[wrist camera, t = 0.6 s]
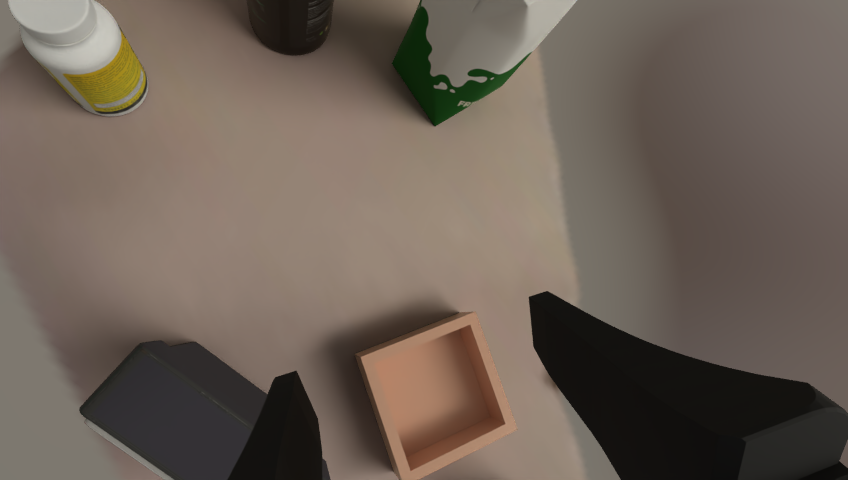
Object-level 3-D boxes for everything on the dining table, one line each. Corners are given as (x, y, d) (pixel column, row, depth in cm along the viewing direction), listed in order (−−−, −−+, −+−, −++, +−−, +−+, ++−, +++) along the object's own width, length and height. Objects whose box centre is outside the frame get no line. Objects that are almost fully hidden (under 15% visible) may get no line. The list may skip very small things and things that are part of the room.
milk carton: (449, 22, 45) (563, -194, 26) (501, 98, 45) (652, -62, 26) (377, 59, 42) (446, -153, 24) (433, 140, 43) (547, -5, 24)
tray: (498, 420, 40) (517, 429, 36) (393, 472, 37) (404, 486, 33) (460, 312, 40) (475, 311, 37) (354, 354, 37) (360, 356, 34)
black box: (157, 382, 33) (57, 427, 19) (200, 333, 35) (137, 341, 20) (279, 470, 34) (270, 574, 20) (316, 420, 36) (333, 484, 22)
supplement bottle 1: (163, 73, 37) (120, -10, 28) (129, 130, 36) (72, 62, 26) (93, 41, 36) (25, -57, 27) (55, 98, 35) (-31, 16, 25)
